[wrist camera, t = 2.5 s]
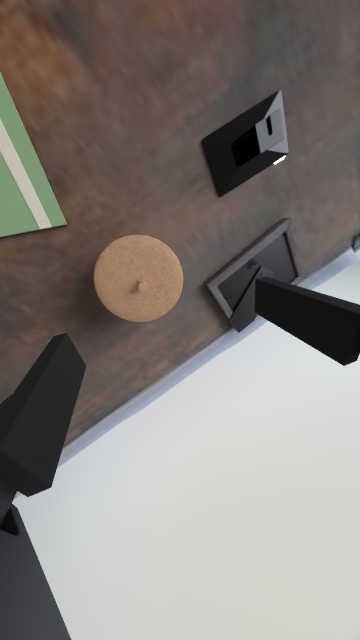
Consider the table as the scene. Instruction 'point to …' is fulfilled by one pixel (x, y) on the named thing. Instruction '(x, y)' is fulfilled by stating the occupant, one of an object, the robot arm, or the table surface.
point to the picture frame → (256, 273)
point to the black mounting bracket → (247, 144)
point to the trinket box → (138, 278)
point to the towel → (22, 177)
